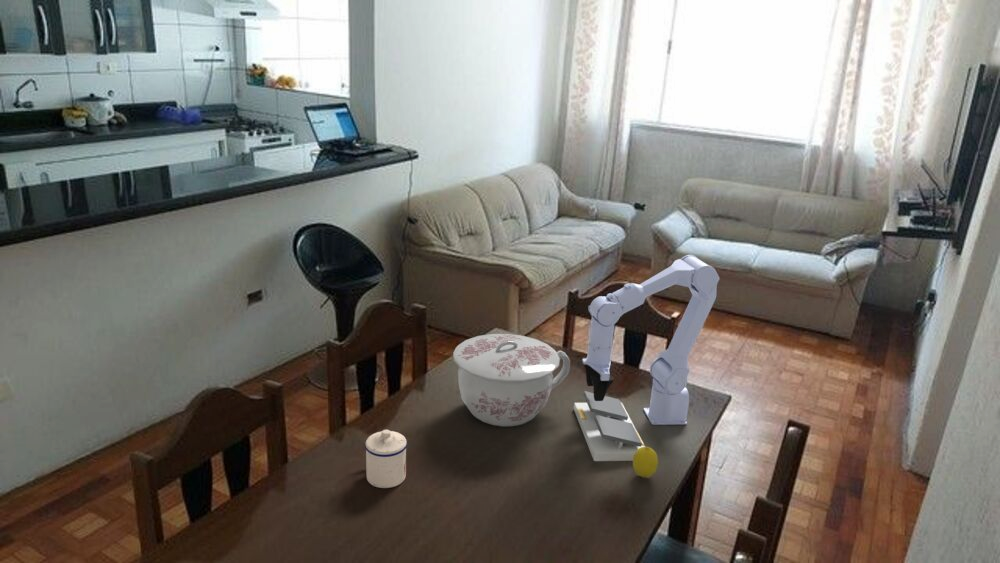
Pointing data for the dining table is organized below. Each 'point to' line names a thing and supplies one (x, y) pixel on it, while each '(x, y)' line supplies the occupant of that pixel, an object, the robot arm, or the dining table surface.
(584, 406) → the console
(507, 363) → the chamber pot
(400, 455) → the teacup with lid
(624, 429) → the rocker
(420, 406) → the dining table surface
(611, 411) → the rocker
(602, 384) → the robot arm
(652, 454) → the lemon
